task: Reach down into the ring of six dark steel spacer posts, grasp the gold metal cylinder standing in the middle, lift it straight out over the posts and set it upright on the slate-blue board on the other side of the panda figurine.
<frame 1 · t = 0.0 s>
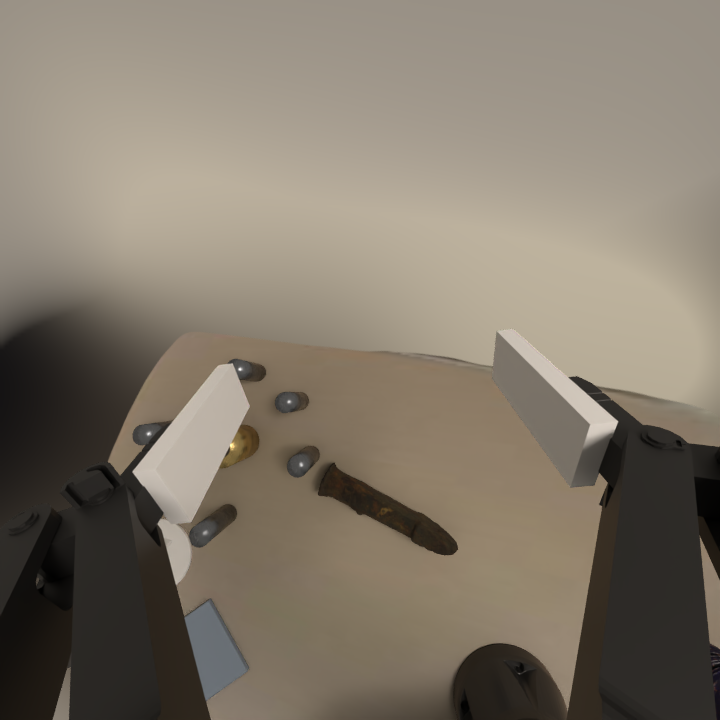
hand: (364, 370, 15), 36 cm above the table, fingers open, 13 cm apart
storage jar: (700, 676, 43), on the table
hand tool: (389, 501, 49), on the table
spacer posts: (243, 441, 51), on the table
slate board: (193, 657, 48), on the table
panda figurine: (161, 551, 51), on the table
gold metal cylinder: (243, 441, 51), on the table
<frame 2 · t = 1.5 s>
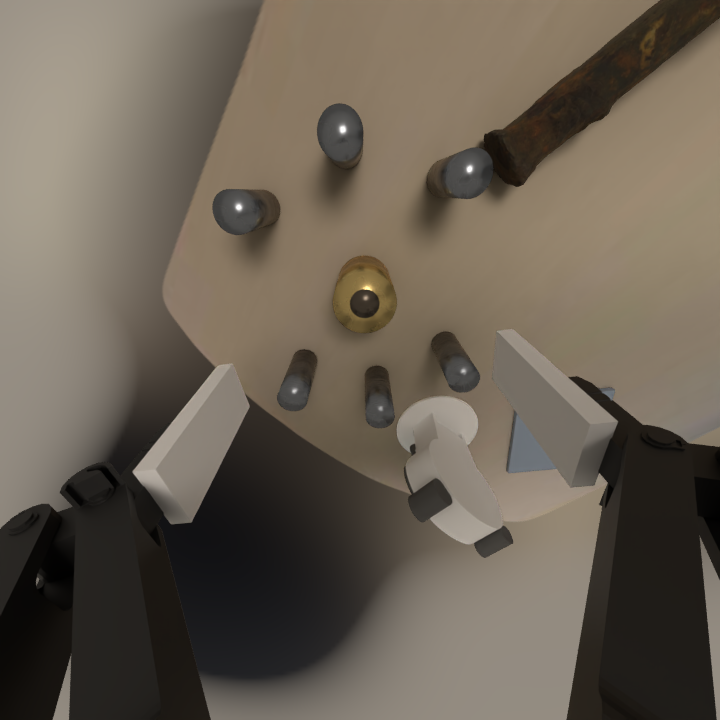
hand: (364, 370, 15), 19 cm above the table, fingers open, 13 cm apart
hand tool: (612, 52, 24), on the table
spacer posts: (364, 282, 32), on the table
slate board: (554, 432, 43), on the table
panda figurine: (434, 426, 42), on the table
gold metal cylinder: (364, 282, 32), on the table
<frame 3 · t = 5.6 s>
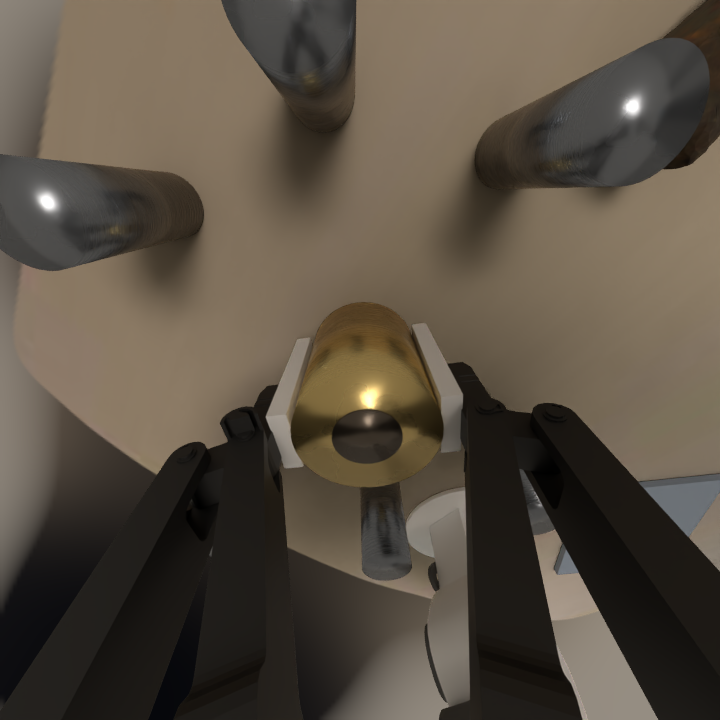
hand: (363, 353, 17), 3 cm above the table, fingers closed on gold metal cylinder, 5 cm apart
spacer posts: (358, 333, 19), on the table
slate board: (627, 527, 30), on the table
panda figurine: (459, 521, 30), on the table
gold metal cylinder: (363, 349, 17), point 2 cm above the table, touching gripper
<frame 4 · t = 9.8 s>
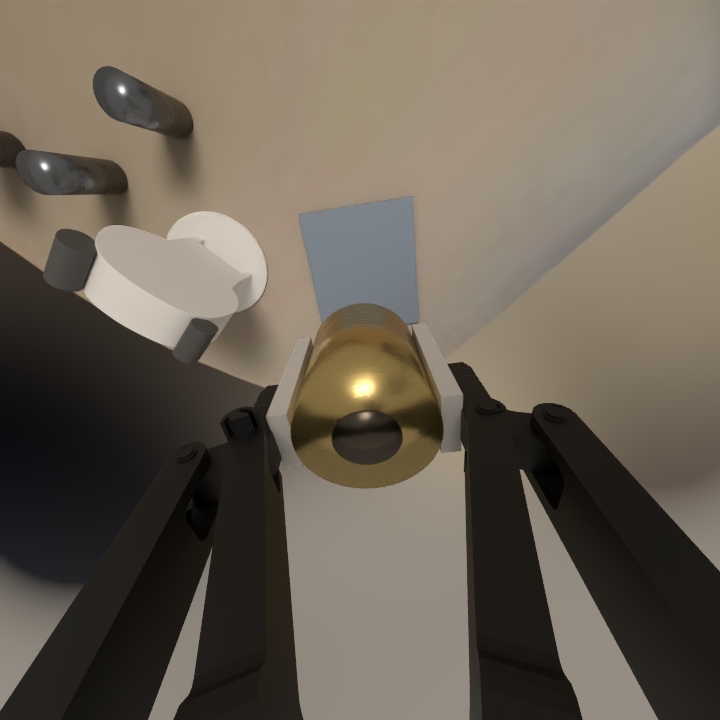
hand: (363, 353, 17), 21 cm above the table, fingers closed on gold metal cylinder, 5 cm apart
spacer posts: (31, 7, 24), on the table
slate board: (363, 271, 35), on the table
panda figurine: (216, 263, 35), on the table
gold metal cylinder: (363, 350, 17), point 20 cm above the table, touching gripper
when the fingers open (1 cm above the table, at t = 14.4 s): gold metal cylinder stays where it is, resting on slate board.
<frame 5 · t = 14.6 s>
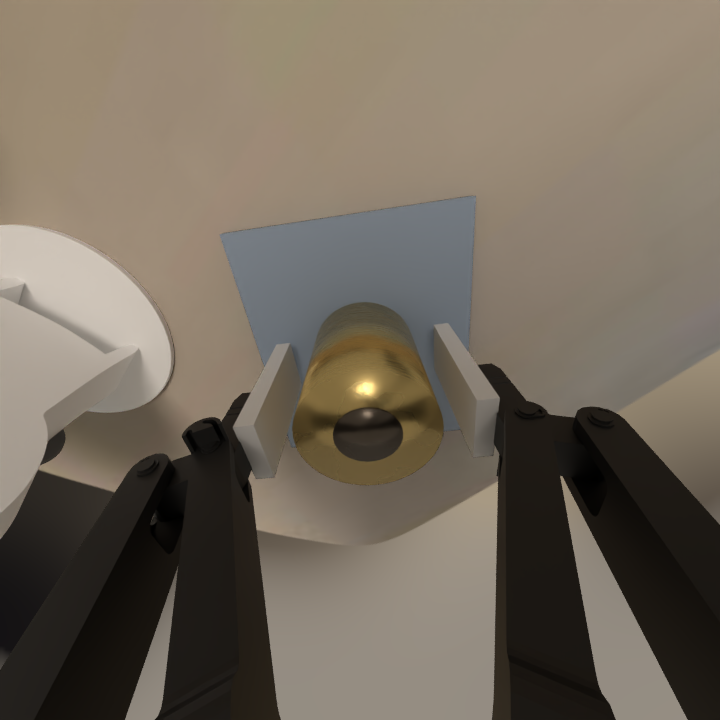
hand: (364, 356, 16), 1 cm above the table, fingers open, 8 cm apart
slate board: (363, 344, 18), on the table
panda figurine: (68, 326, 17), on the table
gold metal cylinder: (364, 348, 17), point 1 cm above the table, touching slate board
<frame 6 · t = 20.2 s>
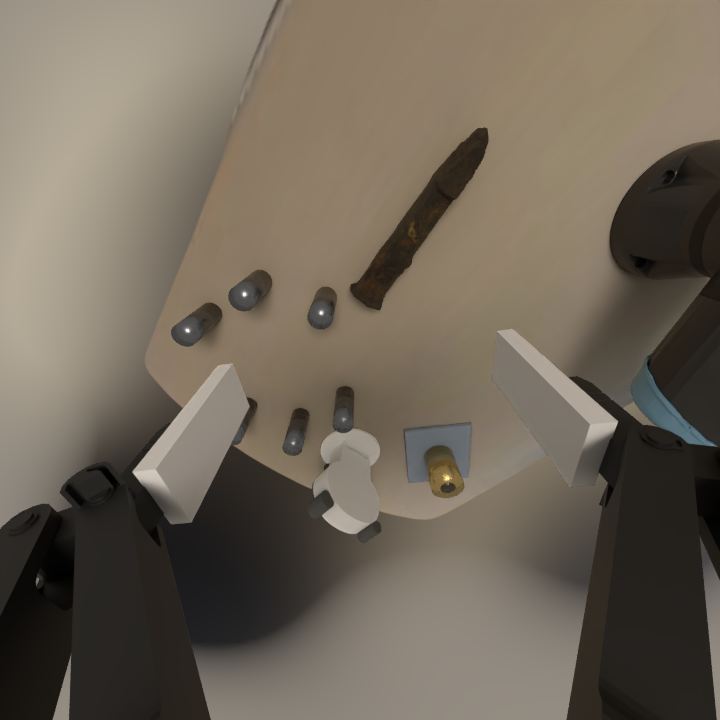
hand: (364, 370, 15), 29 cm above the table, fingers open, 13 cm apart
hand tool: (408, 220, 38), on the table
spacer posts: (283, 356, 47), on the table
slate board: (437, 453, 58), on the table
panda figurine: (349, 448, 58), on the table
gold metal cylinder: (438, 455, 57), point 1 cm above the table, touching slate board
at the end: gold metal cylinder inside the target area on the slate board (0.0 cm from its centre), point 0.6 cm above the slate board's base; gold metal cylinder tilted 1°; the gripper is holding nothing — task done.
